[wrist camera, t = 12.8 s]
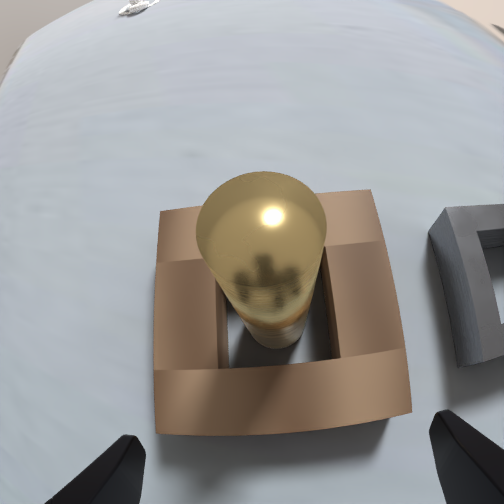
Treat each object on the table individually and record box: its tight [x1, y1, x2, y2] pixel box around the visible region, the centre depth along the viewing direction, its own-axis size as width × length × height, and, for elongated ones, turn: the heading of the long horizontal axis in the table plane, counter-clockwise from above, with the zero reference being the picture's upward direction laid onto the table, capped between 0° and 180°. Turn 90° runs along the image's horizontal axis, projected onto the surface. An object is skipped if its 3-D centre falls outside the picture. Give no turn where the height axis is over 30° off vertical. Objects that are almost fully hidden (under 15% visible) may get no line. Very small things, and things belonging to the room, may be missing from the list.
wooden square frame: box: [154, 189, 412, 436], centre depth 16 cm, size 12×12×3 cm
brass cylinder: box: [196, 171, 327, 349], centre depth 13 cm, size 3×3×11 cm
